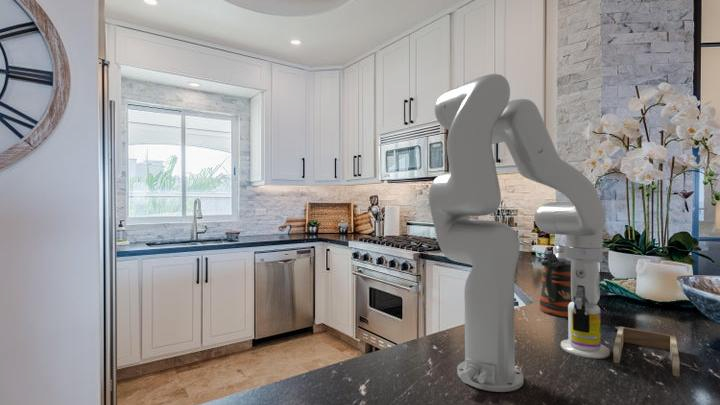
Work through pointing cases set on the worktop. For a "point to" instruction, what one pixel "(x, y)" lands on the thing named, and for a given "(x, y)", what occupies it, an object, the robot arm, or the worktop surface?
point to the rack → (647, 343)
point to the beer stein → (556, 286)
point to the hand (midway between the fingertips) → (584, 325)
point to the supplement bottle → (584, 339)
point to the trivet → (598, 354)
